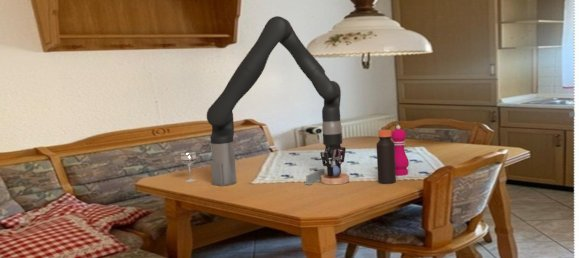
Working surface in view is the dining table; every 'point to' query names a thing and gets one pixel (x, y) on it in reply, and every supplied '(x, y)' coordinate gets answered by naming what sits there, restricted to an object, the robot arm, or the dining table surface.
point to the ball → (336, 170)
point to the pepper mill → (400, 151)
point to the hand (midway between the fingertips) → (334, 174)
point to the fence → (314, 177)
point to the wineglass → (188, 161)
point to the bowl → (335, 179)
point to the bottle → (386, 158)
